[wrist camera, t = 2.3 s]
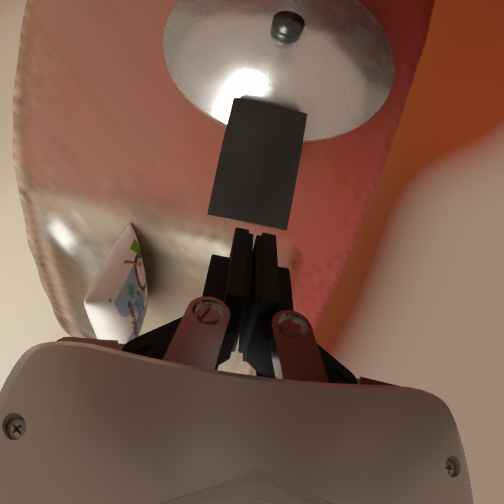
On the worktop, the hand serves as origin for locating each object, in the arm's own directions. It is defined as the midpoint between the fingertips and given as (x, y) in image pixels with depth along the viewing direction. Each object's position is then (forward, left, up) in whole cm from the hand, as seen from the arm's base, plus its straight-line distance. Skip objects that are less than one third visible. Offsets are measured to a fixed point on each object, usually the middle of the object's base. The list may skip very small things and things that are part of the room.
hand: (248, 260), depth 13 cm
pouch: (+31, -17, -33) cm, 49 cm away
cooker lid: (-8, 0, -15) cm, 17 cm away
